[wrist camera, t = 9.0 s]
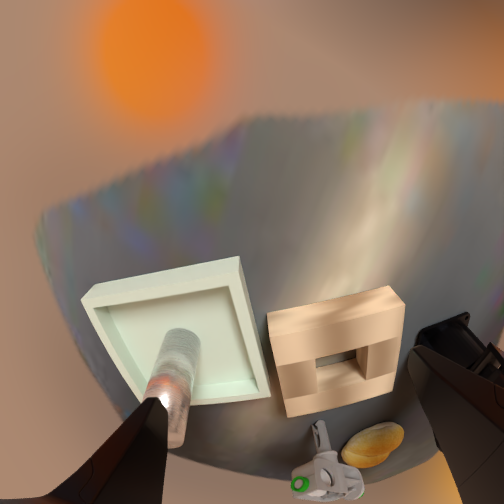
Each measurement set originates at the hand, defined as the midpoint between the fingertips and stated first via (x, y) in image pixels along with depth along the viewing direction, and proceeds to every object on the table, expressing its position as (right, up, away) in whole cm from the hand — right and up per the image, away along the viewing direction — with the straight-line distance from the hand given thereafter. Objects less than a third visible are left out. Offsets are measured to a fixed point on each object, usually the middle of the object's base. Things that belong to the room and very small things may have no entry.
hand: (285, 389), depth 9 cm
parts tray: (-7, -2, +14) cm, 15 cm away
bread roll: (+15, -21, +22) cm, 34 cm away
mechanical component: (+6, -15, +19) cm, 25 cm away
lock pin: (-7, -3, +13) cm, 15 cm away
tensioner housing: (+6, -4, +14) cm, 16 cm away
